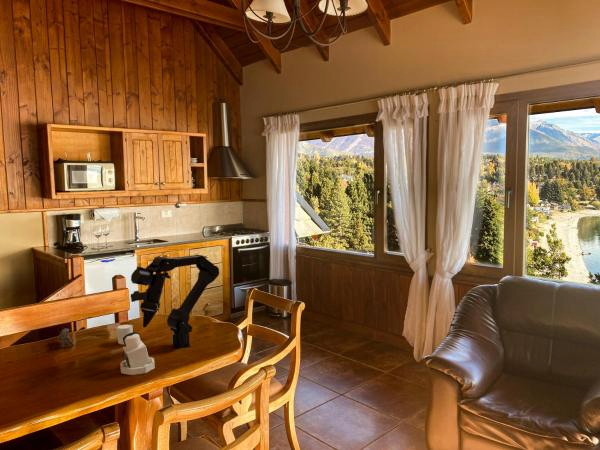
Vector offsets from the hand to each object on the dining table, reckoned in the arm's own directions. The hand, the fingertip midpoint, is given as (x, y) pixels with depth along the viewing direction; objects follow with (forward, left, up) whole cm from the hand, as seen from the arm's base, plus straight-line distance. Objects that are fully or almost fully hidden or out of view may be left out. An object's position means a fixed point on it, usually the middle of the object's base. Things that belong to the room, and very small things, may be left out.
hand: (145, 326), depth 183 cm
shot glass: (+7, -21, -13) cm, 26 cm away
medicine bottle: (+4, +11, -11) cm, 16 cm away
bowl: (+4, +11, -13) cm, 17 cm away
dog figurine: (+31, -28, -13) cm, 44 cm away
